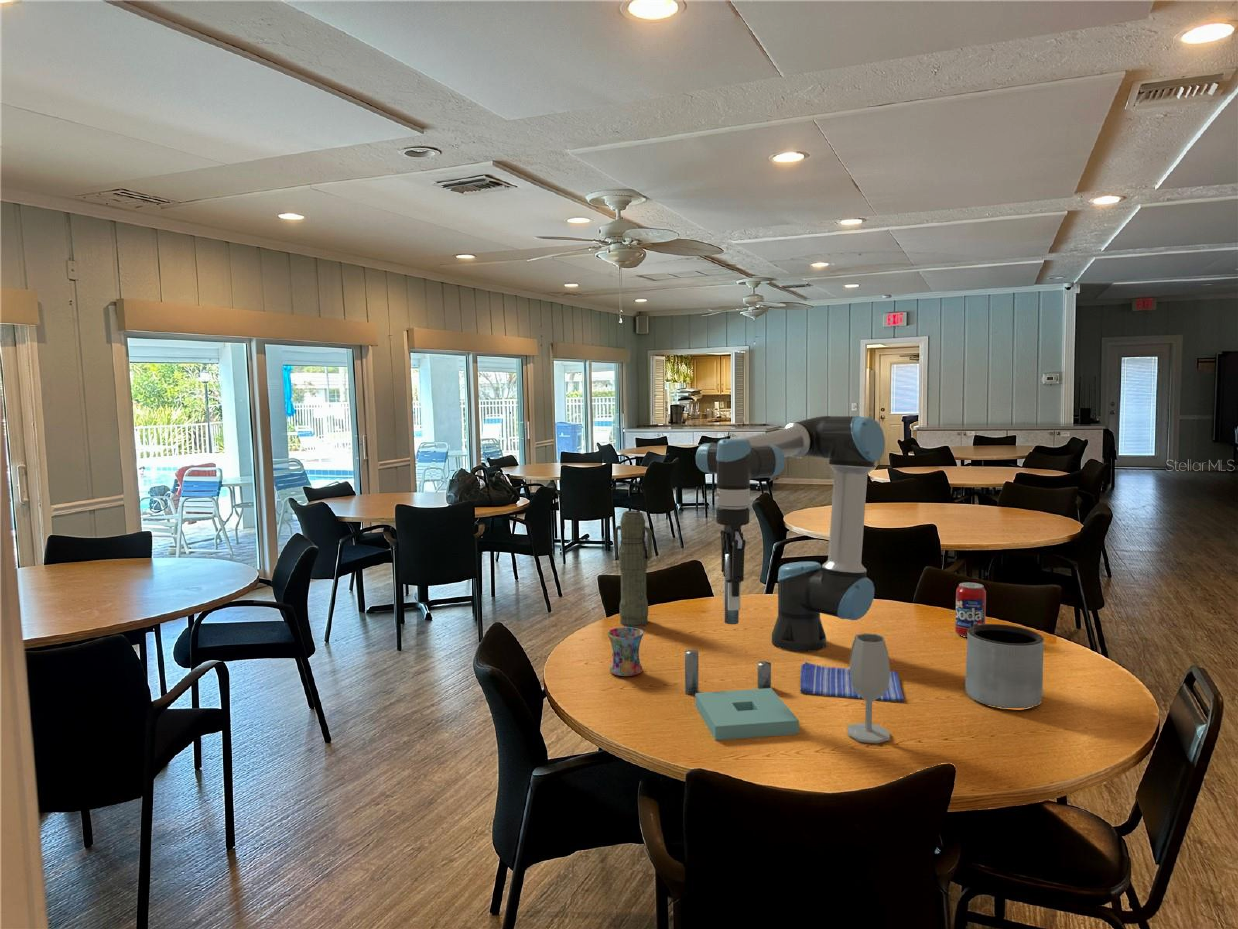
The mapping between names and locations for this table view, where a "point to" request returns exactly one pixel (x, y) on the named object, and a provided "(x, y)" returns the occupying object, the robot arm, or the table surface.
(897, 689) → the dish towel
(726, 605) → the long pin
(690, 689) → the medium pin
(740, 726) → the hole block
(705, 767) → the table surface
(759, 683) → the short pin
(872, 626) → the table surface
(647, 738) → the table surface
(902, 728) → the table surface
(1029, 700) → the planter
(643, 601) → the thermos
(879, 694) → the wineglass
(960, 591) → the soda can
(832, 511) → the robot arm
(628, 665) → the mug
